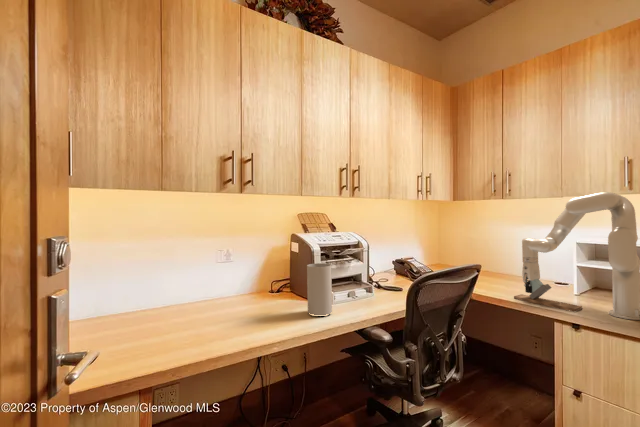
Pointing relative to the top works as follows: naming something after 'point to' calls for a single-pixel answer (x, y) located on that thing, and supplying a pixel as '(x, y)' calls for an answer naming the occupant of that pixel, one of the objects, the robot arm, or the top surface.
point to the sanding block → (538, 288)
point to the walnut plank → (549, 303)
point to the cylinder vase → (319, 288)
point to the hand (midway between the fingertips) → (531, 291)
